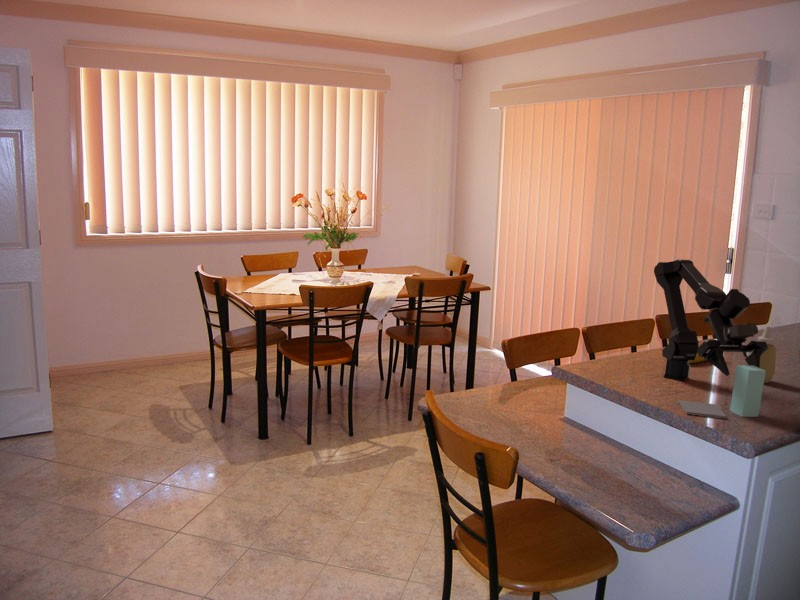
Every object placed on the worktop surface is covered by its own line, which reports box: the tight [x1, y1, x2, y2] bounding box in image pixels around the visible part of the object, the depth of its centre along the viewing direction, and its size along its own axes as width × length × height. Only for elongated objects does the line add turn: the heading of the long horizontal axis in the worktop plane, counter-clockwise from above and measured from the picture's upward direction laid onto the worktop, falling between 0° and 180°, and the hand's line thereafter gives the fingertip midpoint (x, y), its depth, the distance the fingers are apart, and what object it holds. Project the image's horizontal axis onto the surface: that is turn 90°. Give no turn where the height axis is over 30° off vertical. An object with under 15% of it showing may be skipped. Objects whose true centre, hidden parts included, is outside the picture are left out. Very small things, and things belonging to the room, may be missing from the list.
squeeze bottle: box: [757, 326, 777, 384], centre depth 216 cm, size 8×8×18 cm
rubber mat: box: [678, 399, 727, 420], centre depth 184 cm, size 10×10×1 cm
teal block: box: [729, 364, 766, 418], centre depth 182 cm, size 5×5×13 cm
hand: (743, 375), depth 184 cm, fingers open, 9 cm apart
